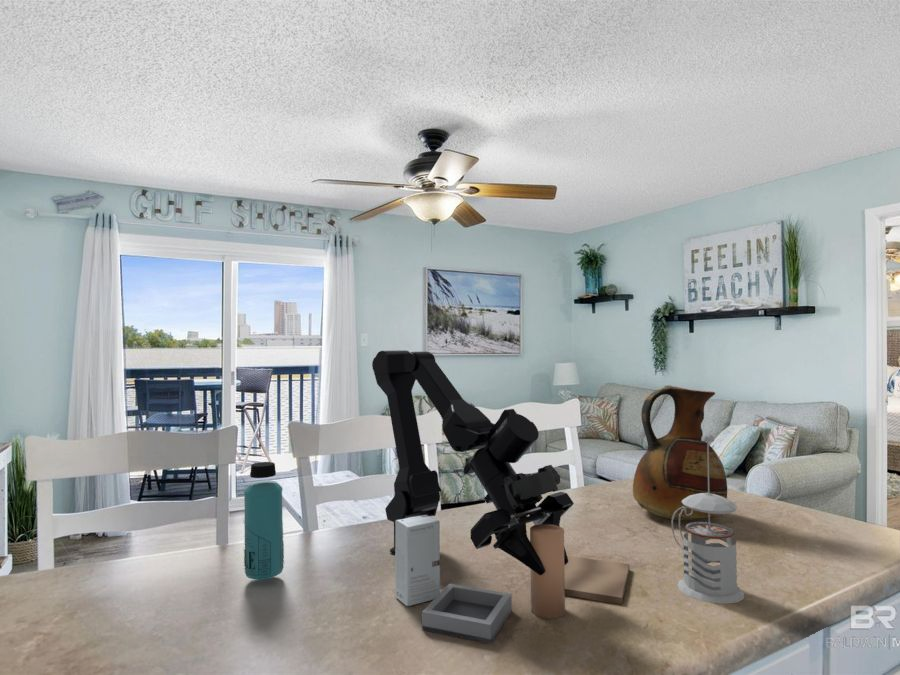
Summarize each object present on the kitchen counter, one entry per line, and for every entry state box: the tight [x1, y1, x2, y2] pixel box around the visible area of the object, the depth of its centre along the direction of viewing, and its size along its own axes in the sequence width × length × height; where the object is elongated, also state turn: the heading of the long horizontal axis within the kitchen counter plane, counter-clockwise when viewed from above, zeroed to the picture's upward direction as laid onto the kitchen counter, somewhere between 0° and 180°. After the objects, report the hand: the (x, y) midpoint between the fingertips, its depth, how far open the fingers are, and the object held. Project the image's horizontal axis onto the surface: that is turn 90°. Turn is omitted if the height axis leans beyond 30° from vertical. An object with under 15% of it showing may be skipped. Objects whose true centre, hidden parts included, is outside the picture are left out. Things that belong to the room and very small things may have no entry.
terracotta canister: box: [529, 524, 566, 620], centre depth 83 cm, size 5×5×12 cm
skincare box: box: [394, 515, 441, 607], centre depth 88 cm, size 6×4×12 cm
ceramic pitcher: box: [632, 384, 728, 521], centre depth 129 cm, size 20×20×30 cm
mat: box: [564, 555, 630, 605], centre depth 94 cm, size 14×14×1 cm
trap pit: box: [421, 583, 513, 645], centre depth 80 cm, size 10×10×2 cm
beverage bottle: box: [242, 461, 285, 580], centre depth 95 cm, size 6×7×20 cm
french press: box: [671, 433, 745, 605], centre depth 90 cm, size 10×12×25 cm
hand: (554, 568), depth 82 cm, fingers closed on terracotta canister, 5 cm apart
